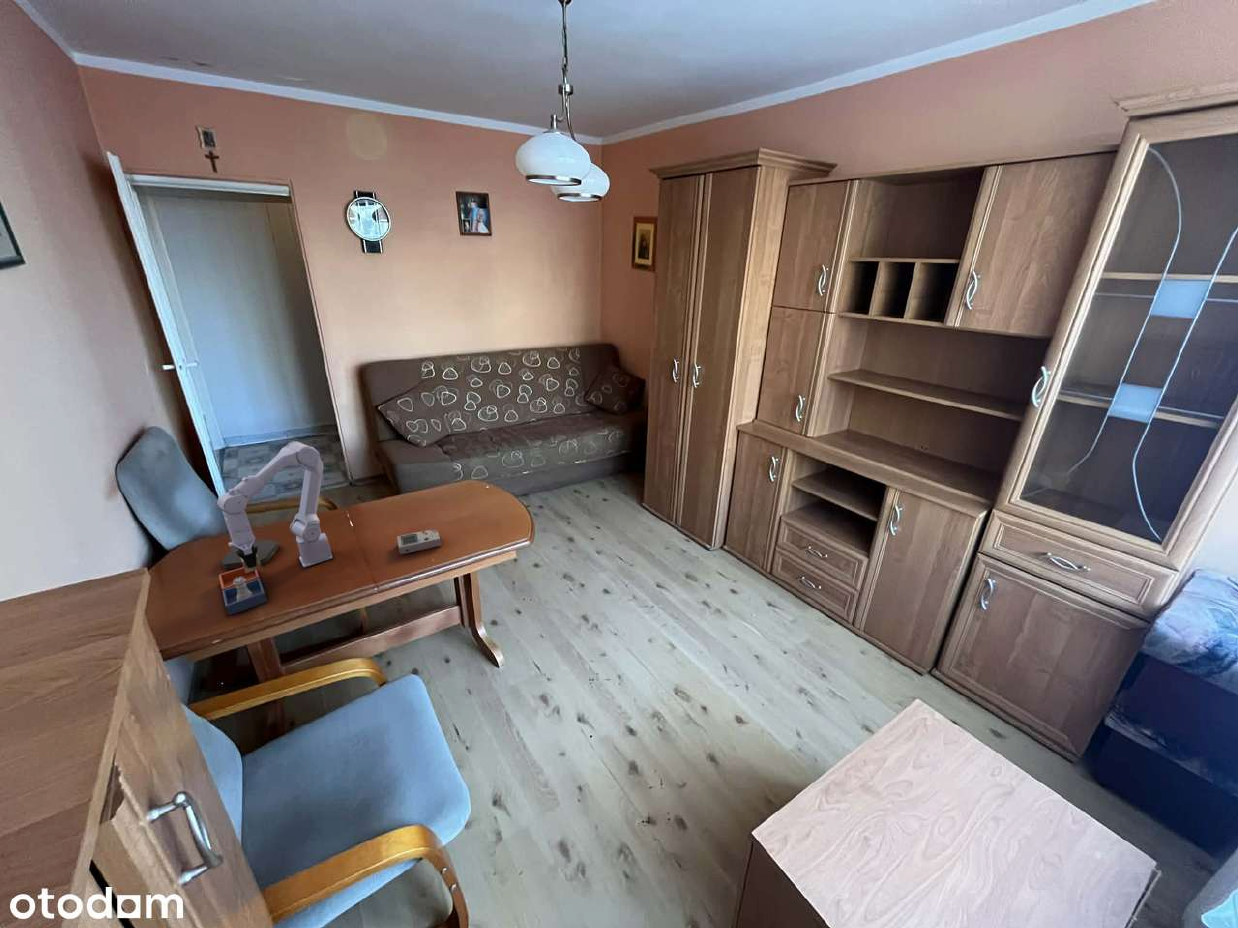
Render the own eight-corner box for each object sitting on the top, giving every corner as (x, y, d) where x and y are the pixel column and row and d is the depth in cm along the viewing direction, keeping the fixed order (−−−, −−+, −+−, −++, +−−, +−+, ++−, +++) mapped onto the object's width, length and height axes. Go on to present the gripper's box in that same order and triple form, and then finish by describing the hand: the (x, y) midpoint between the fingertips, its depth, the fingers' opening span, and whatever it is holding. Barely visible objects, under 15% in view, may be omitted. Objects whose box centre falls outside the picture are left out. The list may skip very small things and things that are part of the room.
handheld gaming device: (441, 546, 193) (440, 538, 191) (400, 556, 187) (398, 547, 185) (438, 536, 200) (436, 527, 199) (398, 544, 194) (396, 536, 193)
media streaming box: (218, 570, 178) (216, 563, 176) (240, 548, 191) (238, 541, 190) (264, 567, 180) (261, 559, 179) (282, 545, 193) (280, 538, 192)
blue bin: (262, 586, 170) (259, 578, 168) (267, 601, 162) (264, 592, 161) (225, 599, 163) (222, 590, 162) (229, 615, 156) (225, 606, 155)
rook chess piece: (242, 595, 165) (235, 574, 161) (257, 594, 165) (250, 574, 162) (234, 604, 160) (226, 583, 157) (249, 603, 161) (241, 582, 158)
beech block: (259, 562, 170) (256, 550, 169) (262, 568, 167) (258, 556, 166) (243, 567, 168) (239, 555, 166) (245, 573, 165) (241, 561, 163)
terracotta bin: (257, 571, 177) (254, 563, 176) (262, 585, 170) (259, 576, 169) (221, 583, 171) (218, 574, 170) (225, 598, 164) (221, 589, 163)
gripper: (221, 523, 164) (233, 558, 169) (227, 541, 154) (240, 578, 160) (247, 516, 168) (258, 550, 174) (254, 533, 158) (266, 569, 164)
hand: (251, 563), depth 167 cm, fingers closed on beech block, 4 cm apart
